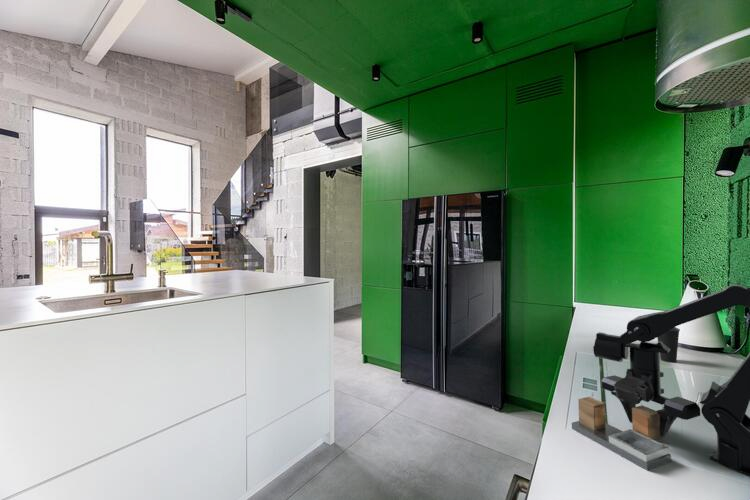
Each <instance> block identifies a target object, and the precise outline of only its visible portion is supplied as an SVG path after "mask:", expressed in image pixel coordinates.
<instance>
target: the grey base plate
mask: <svg viewBox="0 0 750 500" xmlns="http://www.w3.org/2000/svg"><path fill="white" fill-rule="evenodd" d="M571 429H572V430H573V431H576V432H577V433H579V434H580V435H582V436H584V437H587V438H588V439H590V440H591V441H593V442H595V443H597V444H599V445H601V446H602V447H605V448H606V449H608V450H609V451H612V452H613V453H615V454H617V455H619V456H620V457H622V458H624V459H626V460H628V461H629V462H631V463H633V464H635V465H637V466H639V467H640V468H641V469H644V470H646V471H650V470H652V469H655V468H658V467H660V466H663V465H666V464H667V463H670V462H672V454H671V453H670V447H669V446H667V445H665V444H663V443H661V442H659V441H656V440H655V439H654V440H652V439H650V438H648V437H646V436H644V435H642V434H640V433H637V432H635V431H633V429H631V428H630V429H626V430H621V429H619V428H617V427H615V426H613V425H610V423H607V422H605V427H604V428H600V429H597V430H593V429H591V428H589V427H587V426H585V425H584V424H582V423H580V422H579V420H577V421H573V422H571Z"/></svg>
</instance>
